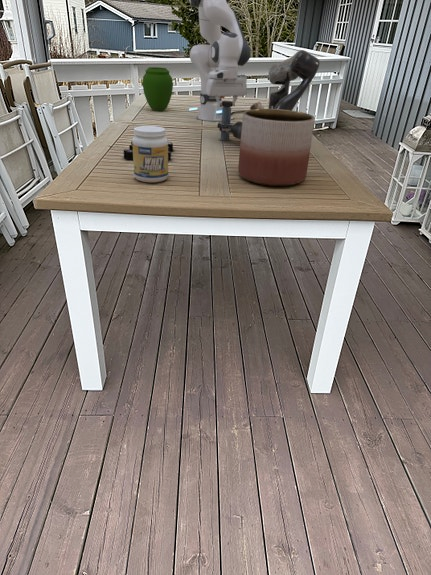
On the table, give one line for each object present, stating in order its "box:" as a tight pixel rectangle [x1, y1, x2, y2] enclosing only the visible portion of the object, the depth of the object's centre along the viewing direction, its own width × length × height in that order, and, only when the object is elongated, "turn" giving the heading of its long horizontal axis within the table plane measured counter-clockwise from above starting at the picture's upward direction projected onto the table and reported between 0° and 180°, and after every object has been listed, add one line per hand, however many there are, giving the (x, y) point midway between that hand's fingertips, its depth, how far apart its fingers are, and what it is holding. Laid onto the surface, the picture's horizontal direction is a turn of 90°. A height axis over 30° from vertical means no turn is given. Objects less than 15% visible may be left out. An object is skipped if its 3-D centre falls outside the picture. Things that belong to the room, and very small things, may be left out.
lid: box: [221, 100, 233, 108], centre depth 195 cm, size 5×5×2 cm
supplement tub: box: [131, 125, 169, 183], centre depth 142 cm, size 12×12×17 cm
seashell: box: [249, 101, 265, 110], centre depth 266 cm, size 10×6×8 cm, turn 97°
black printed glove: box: [123, 140, 174, 161], centre depth 177 cm, size 19×3×30 cm
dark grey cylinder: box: [220, 107, 232, 142], centre depth 199 cm, size 4×4×17 cm
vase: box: [141, 66, 174, 112], centre depth 261 cm, size 20×20×24 cm
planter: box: [237, 108, 316, 187], centre depth 148 cm, size 25×25×22 cm
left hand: (226, 106), depth 195 cm, fingers open, 6 cm apart
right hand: (222, 124), depth 202 cm, fingers closed on dark grey cylinder, 4 cm apart
